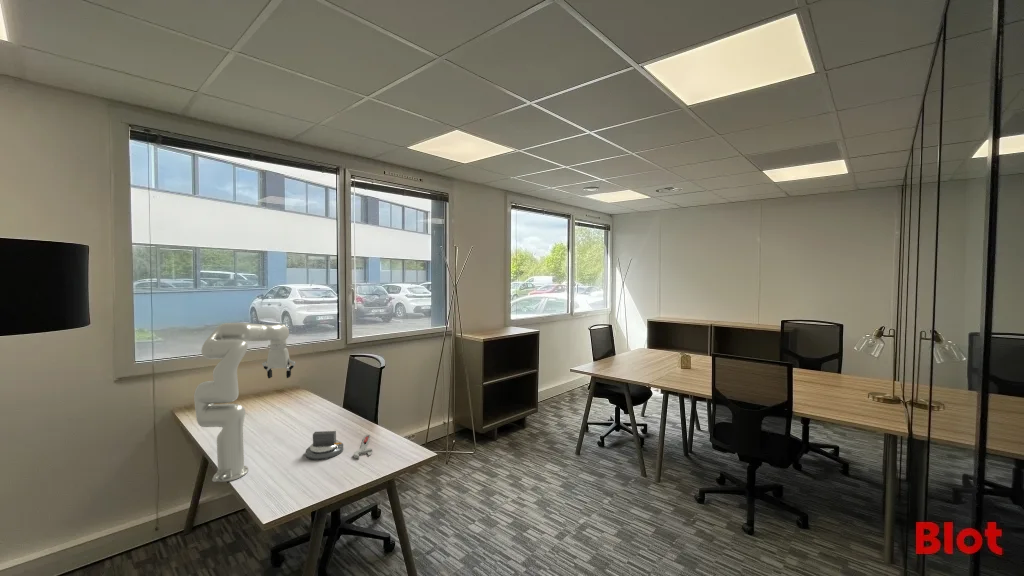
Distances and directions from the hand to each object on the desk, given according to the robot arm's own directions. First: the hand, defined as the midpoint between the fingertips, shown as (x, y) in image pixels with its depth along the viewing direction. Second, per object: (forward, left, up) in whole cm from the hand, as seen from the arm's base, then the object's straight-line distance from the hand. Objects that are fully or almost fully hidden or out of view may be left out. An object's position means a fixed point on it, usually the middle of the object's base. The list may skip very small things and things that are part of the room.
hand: (279, 377), depth 219 cm
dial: (-26, -34, -29) cm, 51 cm away
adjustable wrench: (-22, -51, -32) cm, 65 cm away
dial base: (-26, -33, -31) cm, 52 cm away
